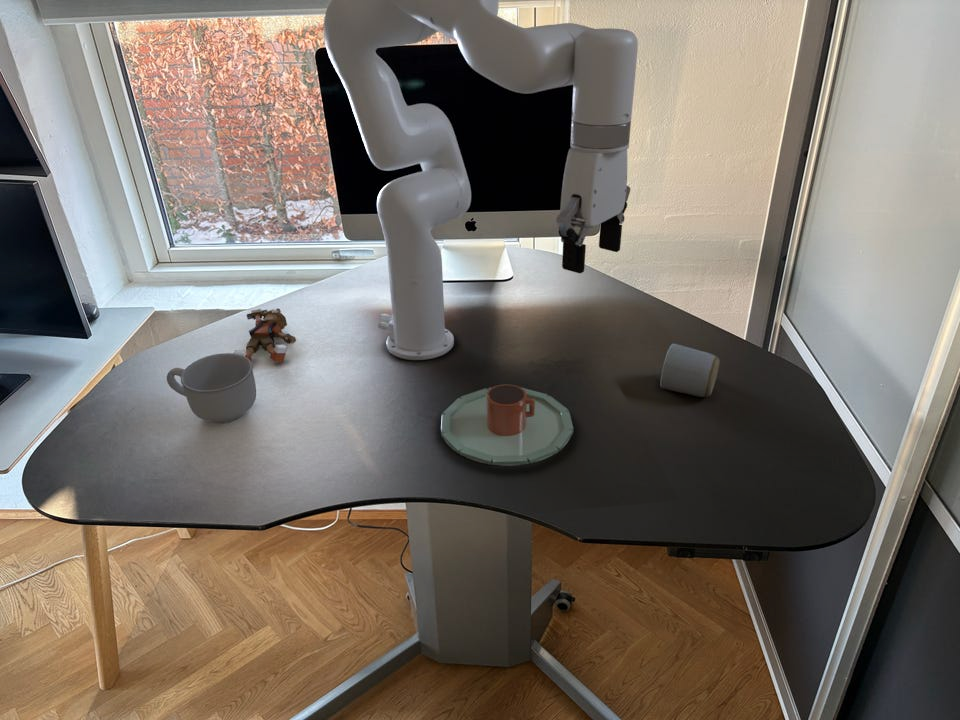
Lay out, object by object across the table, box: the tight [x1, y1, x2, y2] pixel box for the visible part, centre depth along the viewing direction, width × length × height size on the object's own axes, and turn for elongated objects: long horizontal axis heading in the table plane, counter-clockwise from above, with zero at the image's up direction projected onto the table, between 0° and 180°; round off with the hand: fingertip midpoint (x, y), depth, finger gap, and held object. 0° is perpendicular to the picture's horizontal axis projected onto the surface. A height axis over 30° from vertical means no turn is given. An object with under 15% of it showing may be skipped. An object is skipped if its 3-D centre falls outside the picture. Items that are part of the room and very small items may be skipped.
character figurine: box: [233, 307, 297, 364], centre depth 136 cm, size 12×5×18 cm
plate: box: [440, 387, 574, 467], centre depth 110 cm, size 20×20×2 cm
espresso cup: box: [486, 383, 535, 436], centre depth 109 cm, size 7×6×6 cm
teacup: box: [166, 352, 257, 423], centre depth 115 cm, size 14×11×8 cm
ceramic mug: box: [659, 343, 720, 398], centre depth 119 cm, size 11×8×8 cm
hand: (591, 259), depth 101 cm, fingers open, 9 cm apart
